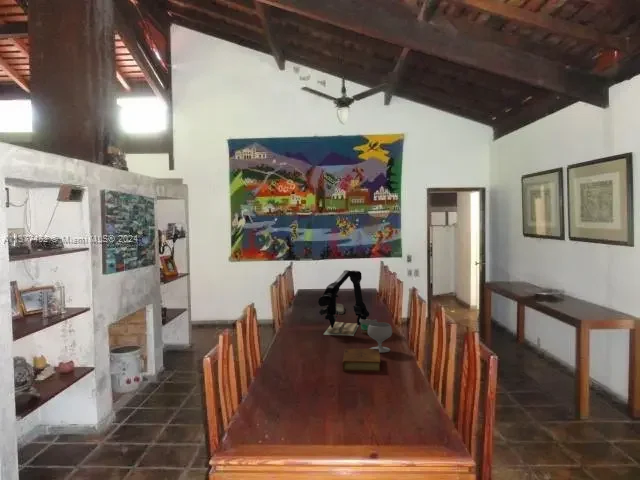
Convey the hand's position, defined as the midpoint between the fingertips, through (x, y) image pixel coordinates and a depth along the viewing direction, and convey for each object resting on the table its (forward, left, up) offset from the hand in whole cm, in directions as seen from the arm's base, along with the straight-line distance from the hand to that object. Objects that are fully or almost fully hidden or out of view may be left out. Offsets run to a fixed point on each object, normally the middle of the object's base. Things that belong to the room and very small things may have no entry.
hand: (332, 327), depth 318 cm
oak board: (-11, -6, -3) cm, 13 cm away
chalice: (-35, +40, -3) cm, 53 cm away
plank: (-2, -6, -2) cm, 7 cm away
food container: (-24, +3, -3) cm, 24 cm away
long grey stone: (+8, -76, -4) cm, 77 cm away
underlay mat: (-6, -6, -3) cm, 9 cm away
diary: (-27, +68, -4) cm, 73 cm away
